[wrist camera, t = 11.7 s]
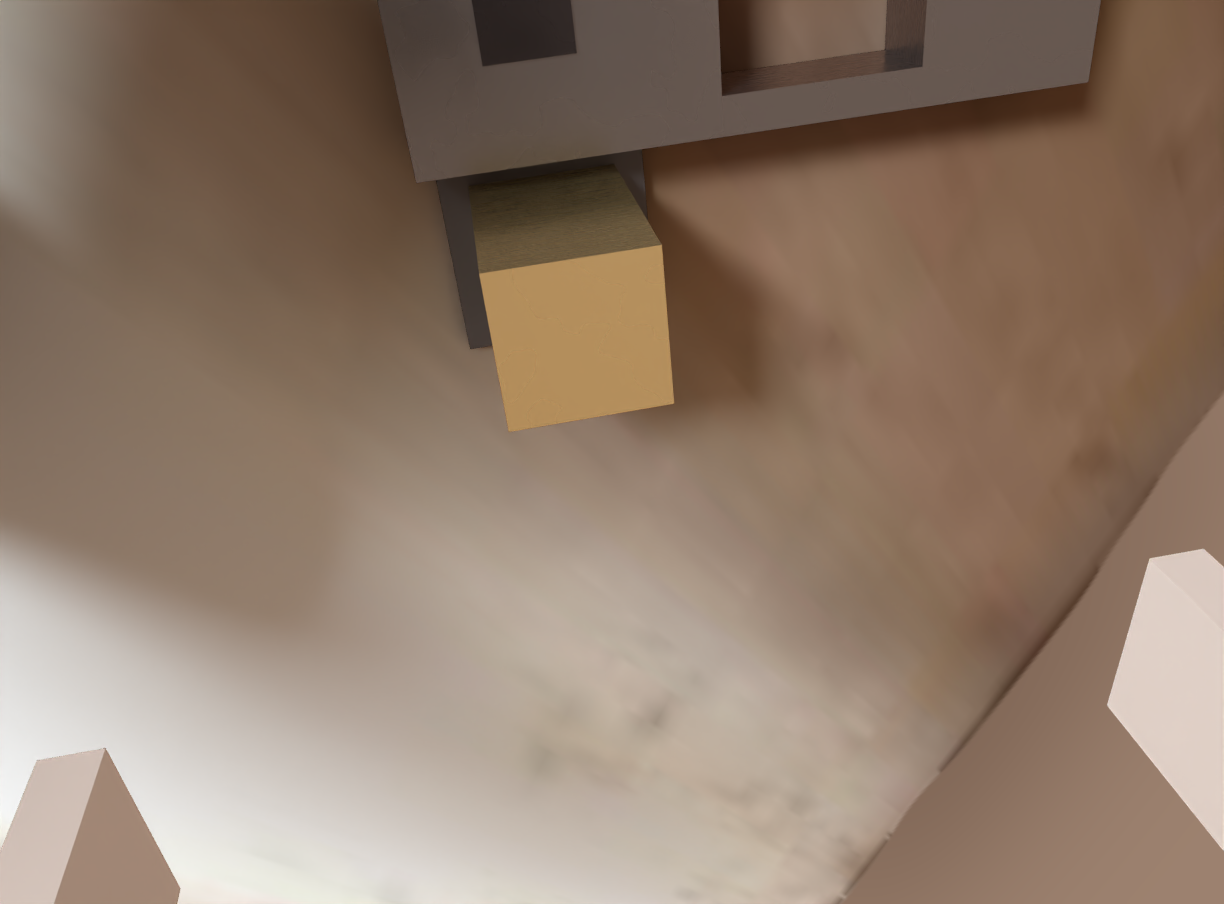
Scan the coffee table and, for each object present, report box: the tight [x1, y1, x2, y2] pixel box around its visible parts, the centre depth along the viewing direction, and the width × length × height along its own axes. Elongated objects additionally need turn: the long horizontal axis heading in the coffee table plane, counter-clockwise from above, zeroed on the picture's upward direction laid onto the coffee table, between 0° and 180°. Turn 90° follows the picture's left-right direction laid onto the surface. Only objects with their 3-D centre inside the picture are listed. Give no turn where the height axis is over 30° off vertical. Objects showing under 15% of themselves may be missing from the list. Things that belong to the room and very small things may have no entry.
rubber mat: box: [436, 149, 648, 349], centre depth 35 cm, size 7×7×1 cm
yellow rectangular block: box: [468, 164, 674, 432], centre depth 31 cm, size 5×5×8 cm
